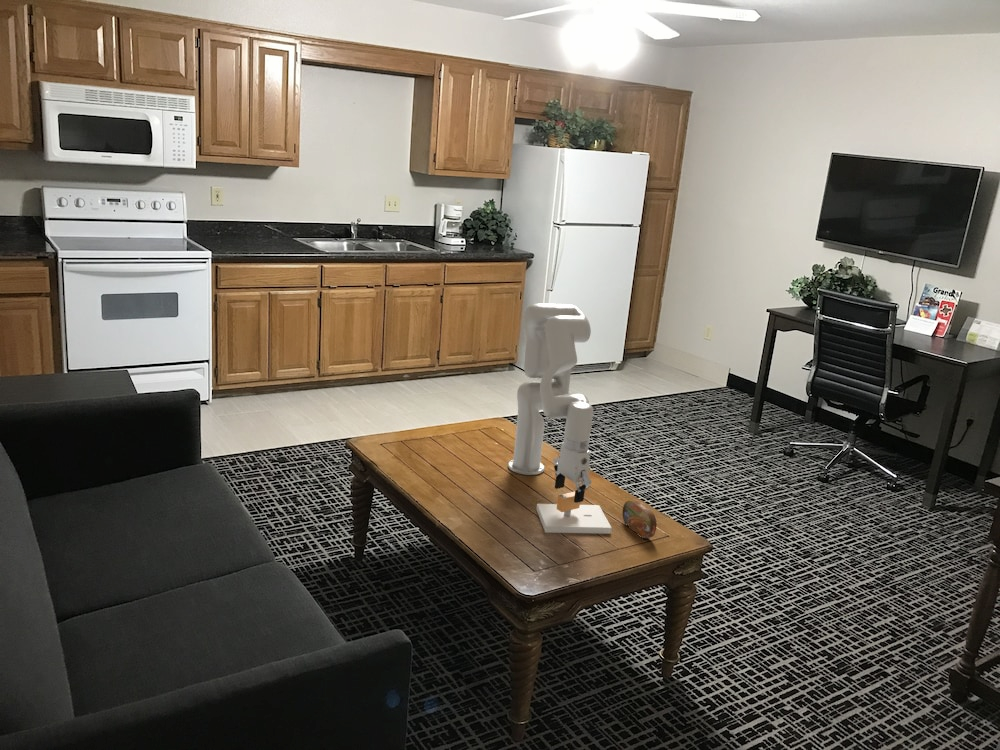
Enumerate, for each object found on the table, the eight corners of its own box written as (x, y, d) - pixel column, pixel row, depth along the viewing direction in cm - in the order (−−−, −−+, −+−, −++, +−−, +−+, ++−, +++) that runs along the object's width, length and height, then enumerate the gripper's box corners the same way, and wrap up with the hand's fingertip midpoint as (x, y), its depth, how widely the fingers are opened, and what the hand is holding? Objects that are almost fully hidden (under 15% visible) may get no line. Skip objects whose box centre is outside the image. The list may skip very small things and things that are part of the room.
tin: (620, 520, 249) (623, 495, 247) (628, 519, 250) (632, 494, 248) (646, 543, 236) (651, 518, 233) (655, 542, 237) (660, 516, 235)
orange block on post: (574, 504, 247) (575, 490, 245) (579, 507, 245) (581, 494, 244) (556, 508, 243) (558, 494, 241) (561, 512, 241) (563, 498, 240)
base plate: (536, 509, 251) (537, 497, 250) (598, 510, 254) (599, 499, 253) (545, 532, 237) (546, 520, 236) (610, 533, 240) (612, 521, 239)
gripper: (604, 452, 233) (596, 505, 238) (568, 430, 247) (561, 480, 252) (583, 456, 229) (576, 509, 234) (548, 433, 243) (542, 484, 248)
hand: (568, 494), depth 243 cm, fingers open, 9 cm apart
